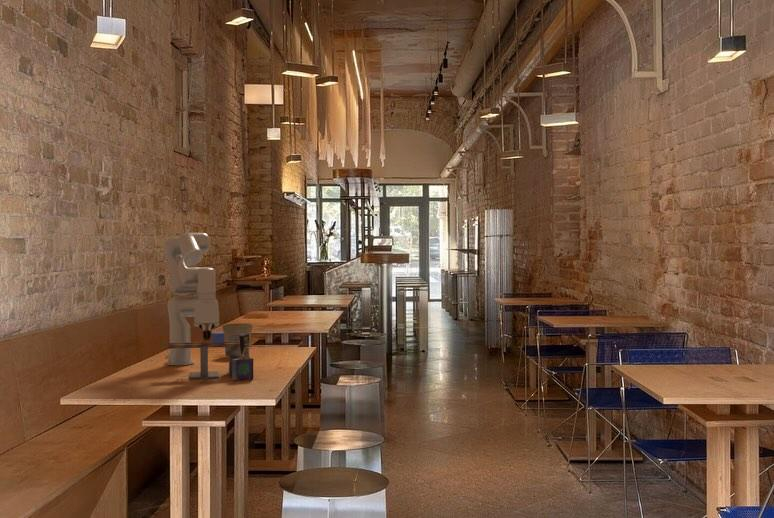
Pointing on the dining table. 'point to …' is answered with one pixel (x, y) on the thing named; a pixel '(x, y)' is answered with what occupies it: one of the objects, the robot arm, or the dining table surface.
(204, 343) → the beam
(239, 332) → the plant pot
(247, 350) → the coffee box
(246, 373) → the flask
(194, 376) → the stand
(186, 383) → the dining table surface
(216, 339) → the blue block
